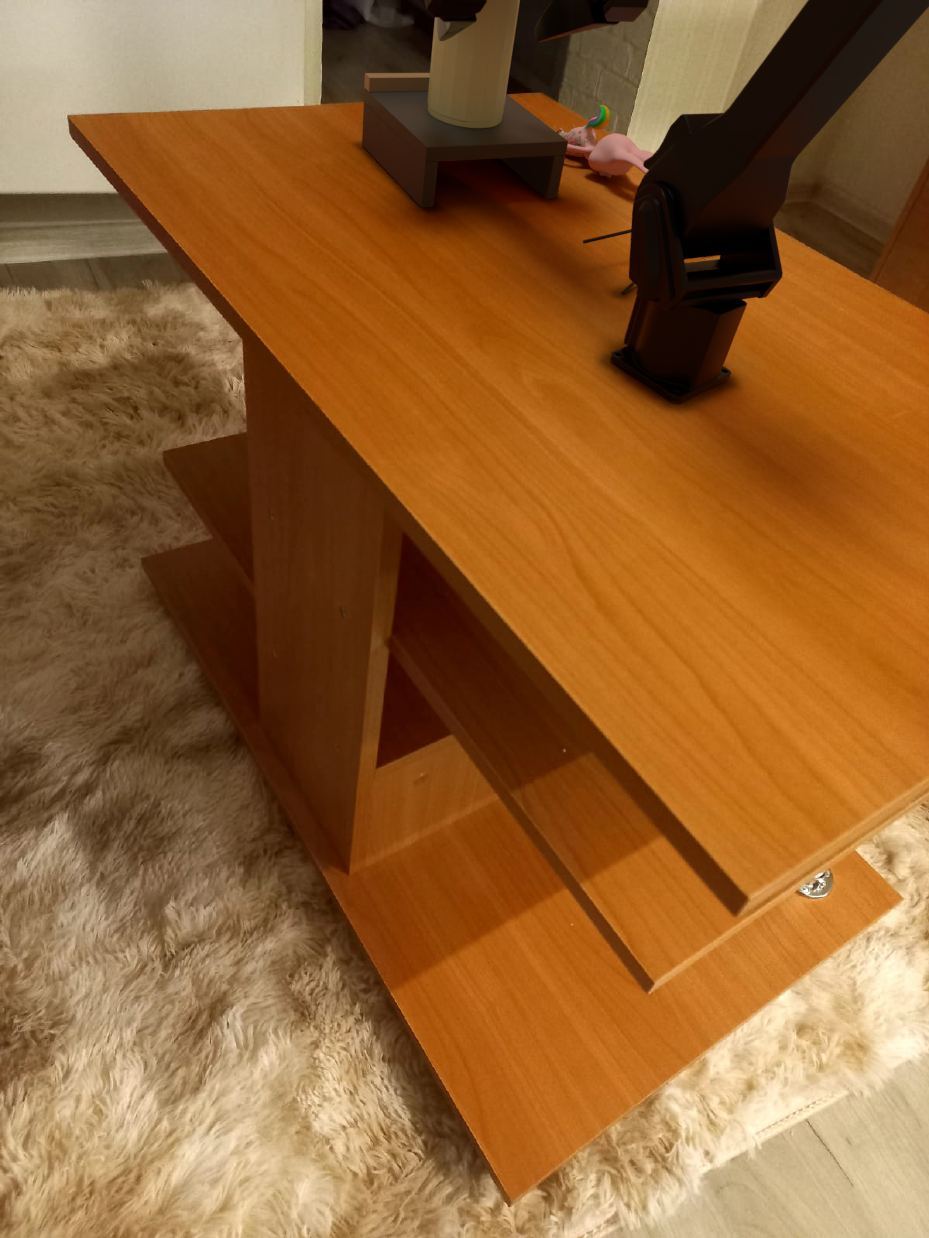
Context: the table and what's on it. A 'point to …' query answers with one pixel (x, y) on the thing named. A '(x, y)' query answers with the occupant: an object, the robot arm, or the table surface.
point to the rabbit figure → (604, 147)
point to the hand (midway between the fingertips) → (489, 35)
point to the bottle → (474, 68)
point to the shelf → (451, 138)
